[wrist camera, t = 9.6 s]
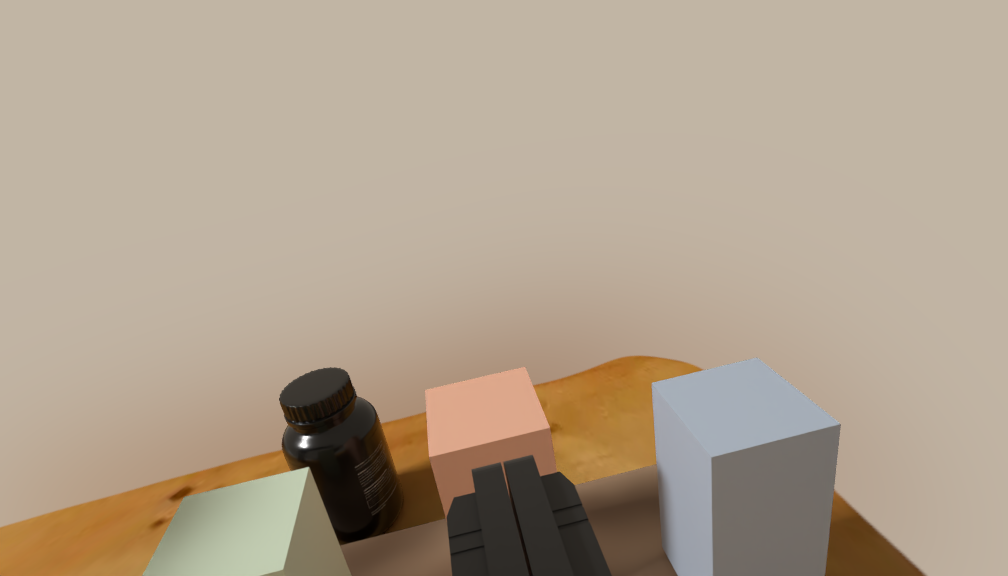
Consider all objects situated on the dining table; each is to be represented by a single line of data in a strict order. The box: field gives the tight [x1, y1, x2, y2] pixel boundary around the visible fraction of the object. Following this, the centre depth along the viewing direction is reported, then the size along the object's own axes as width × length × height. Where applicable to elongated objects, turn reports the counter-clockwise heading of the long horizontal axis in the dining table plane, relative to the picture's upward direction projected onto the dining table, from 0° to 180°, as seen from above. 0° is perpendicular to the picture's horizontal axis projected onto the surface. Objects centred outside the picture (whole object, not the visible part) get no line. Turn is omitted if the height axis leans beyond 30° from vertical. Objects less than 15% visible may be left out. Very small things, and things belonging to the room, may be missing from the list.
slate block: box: [652, 358, 841, 576], centre depth 28 cm, size 6×6×12 cm
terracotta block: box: [425, 367, 557, 521], centre depth 31 cm, size 6×6×12 cm
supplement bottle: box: [279, 368, 403, 546], centre depth 39 cm, size 7×7×12 cm
